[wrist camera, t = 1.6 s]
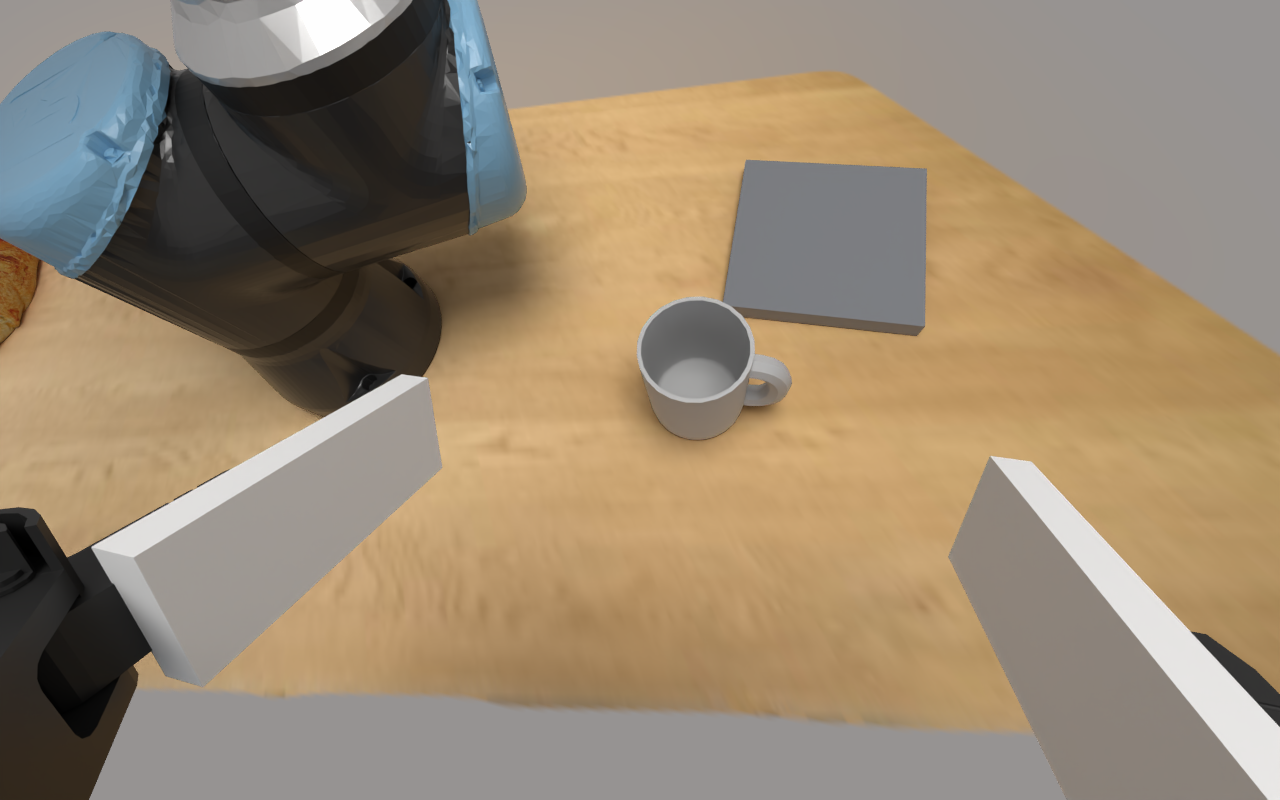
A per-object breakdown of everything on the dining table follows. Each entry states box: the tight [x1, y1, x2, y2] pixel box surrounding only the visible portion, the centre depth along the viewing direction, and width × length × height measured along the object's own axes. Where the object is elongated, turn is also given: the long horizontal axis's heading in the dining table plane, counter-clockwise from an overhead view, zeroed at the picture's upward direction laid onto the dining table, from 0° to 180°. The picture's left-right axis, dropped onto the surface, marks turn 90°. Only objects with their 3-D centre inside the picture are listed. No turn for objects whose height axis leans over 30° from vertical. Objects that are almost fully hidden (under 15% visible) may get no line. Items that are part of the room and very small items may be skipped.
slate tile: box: [723, 160, 927, 336], centre depth 40 cm, size 15×15×2 cm
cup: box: [637, 297, 792, 440], centre depth 34 cm, size 7×10×9 cm
